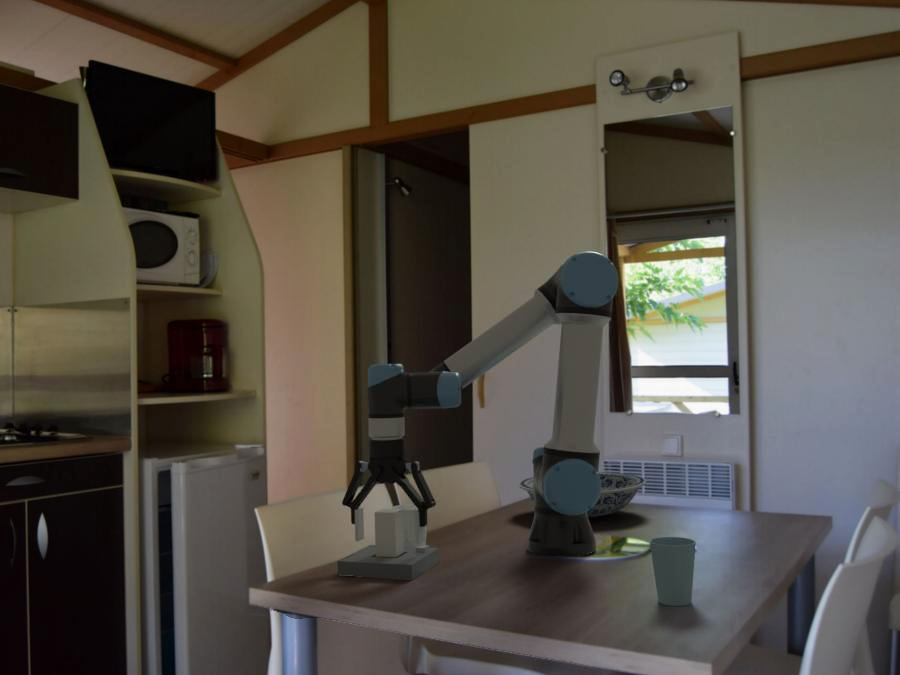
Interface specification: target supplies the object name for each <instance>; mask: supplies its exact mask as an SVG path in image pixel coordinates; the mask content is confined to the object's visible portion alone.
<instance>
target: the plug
mask: <svg viewBox="0 0 900 675" xmlns="http://www.w3.org/2000/svg"><path fill="white" fill-rule="evenodd" d="M374 540H375V541H374V542H375V543H374V545H376V556H379V557H385V558H399V557H400V556H401V554H402V553H404V537H403V509H392V508H381V509H379V510H376V511H375V512H374Z"/></svg>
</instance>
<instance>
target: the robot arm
mask: <svg viewBox="0 0 900 675" xmlns="http://www.w3.org/2000/svg"><path fill="white" fill-rule="evenodd" d="M619 281H620V280H619V274H618V270H617V268H616V266H615V265H614V263H613V262H612V260H611V259H609V258H608V257H607V256H606V255H604V254H602V253H599V252H596V251H583V252H578V253H576V254H573V255H571V256H569V257H568V258H567V259H566V261H565V262H564V263H563V264H561V265H560V267H559V268H557V269H556V271H555V272H554V273H553V275H551V277H549V278H548V279H547V281H545V282H544V283H543V284H542V285H541V286H539V287H538V288H535V290H534V292H533V297H531V298H529V299H528V300H527V301H525V302H524V303H523V304H522V305H520V306H519V307H517V308H516V309H515V310H512V312H511V313H508V314H507V315H506V316H505V317H503V318H502V319H501V320H499V321H498V322H497V323H494V324H493V325H492V326H491V327H489V328H488V329H486V330H485V331H484V332H483V333H481V334H480V335H478V336H477V337H476V338H474V339H473V340H471V341H470V342H468V343H467V344H466V345H464V346H463V347H461V348H460V349H459V350H458V351H456V352H455V353H453V354H452V355H450V356H448V358H446V359H445V360H443V362H441V363H440V364H438V365H437V366H435V367H433V368H432V369H431V370H430V371H427V372H426V371H425V372H405V370H404V366H403V364H401V363H380V364H379V363H377V364H376V363H375V364H372V365H370V366H369V367H368V369H367V388H366V389H367V410H368V411H367V413H368V414H367V415H368V437H370V438H371V439H370V440H369V441H368V456H369V461H368V462H367V461H364V460H358V461H356V462H355V464H354V471H353V476H352V478H351V480H350V482H349V485H348V486H347V489H346V492H345V494H344V497H343V499H342V501H341V504H342V506H344V507H348V508H349V509H350V522H351V525H354V534H355V535H354V540H355V542H361V541H363V540H364V539H365V529H364V528H365V521H364V520H365V519H364V517H365V516H364V507H361V506H362V504H363V503H364V501H365V499H366V498H367V497H368V495H369V494H370V493H371V492H372V490H373V489H374V487H375V486H376V485H377V484H385V483H387V484H391V485H392V484H396V485H397V486H398V487H400V488H401V489H402V490H403V492H404V493H405V494H406V495H407V497H408V498H409V499H410V500H411V501H410V502H412V504H415V506H416V507H417V508H418V510H417V511H415V541H416V544H420V543H422V542H423V541H424V535H423V527H425V526H427V527H428V510H429V509H432V508H434V507H435V506H436V505H437V502H436V500H435V498H434V496H433V493H432V492H431V490H430V486H429V485H428V483H427V481H426V479H425V477H424V474H423V472H422V466H421V462H420V461H418V460H416V461H413V462H407V461H406V440H405V439H404V438H403V437H404V436H405V434H406V432H405V429H406V427H405V426H406V425H405V424H406V423H405V410H406V409H409V410H411V409H444V410H445V409H449V408H450V409H451V408H458V407H459V406H460V405H461V404H462V390H463V389H464V388H466V387H468V385H470V384H471V383H473V382H474V381H476V380H477V379H478V378H480V377H481V376H483V375H484V374H486V373H487V372H488V371H490V370H491V369H493V368H494V367H496V366H497V365H498V364H499V363H501V362H503V361H504V360H505V359H507V358H508V357H509V356H511V355H512V354H514V353H515V352H516V351H518V350H519V349H521V348H522V347H524V346H526V344H528V343H529V342H530V341H532V340H533V339H535V338H536V337H538V336H539V335H540V334H541V333H543V332H544V331H545V330H547V329H549V328H550V327H551V326H553V325H559V326H561V327H560V338H559V340H560V341H559V351H558V353H559V354H558V362H557V364H558V365H557V373H556V374H557V376H556V386H555V387H556V388H555V399H554V411H553V422H552V432H551V434H552V435H551V436H552V437H551V438H550V439H549V440H548V441H547V442H546V443H544V445H543V446H540V447H539V446H538V447H536V448H535V449H534V450H533V452H532V459H531V461H532V464H533V466H532V467H533V477H534V501H533V502H534V504H533V505H534V516H533V520H532V524H531V526H530V527H531V528H530V530H529V535H528V538H527V550H528V552H529V553H532V554H533V555H534V554H535V555H538V556H544V557H557V558H562V557H564V558H567V557H571V558H572V557H579V556H578V555H582V556H584V555H583V554H587V553H590V552H593V553H595V552H596V551H597V540H596V537H595V533H594V531H593V528H592V525H591V522H590V519H589V517H588V516H587V511H589V510H590V509H591V508H592V507H593V506H594V505H595V504H596V503H597V501H598V499H599V497H600V494H601V479H600V475H599V473H598V472H599V469H600V468H599V467H600V457H601V456H600V455H601V450H600V449H599V447H598V446H597V445H596V443H595V441H594V439H595V438H594V437H595V429H596V428H595V427H596V416H597V402H598V390H599V379H600V368H601V367H600V366H601V356H602V355H601V354H602V344H603V329H604V326H605V325H607V324H608V323H609V322H610V321H611V320H612V315H613V312H612V311H613V303H614V302H613V300H614V297H615V296H616V293H617V292H618V288H619ZM407 469H408V471H409V472H408V473H410V474H411V476H412V478H413V481H414V483H415V485H416V487H417V489H418V491H419V492H418V491H417V489H415V487H414V486H413V484H411V482H410V480H409V478H408V477H407V475H406V474H405V472H406V471H407ZM367 470H368V471H369V472H370V474H371V475H370V476H369V478H368V479H367V481H366V483H365V484H364V485H363V487H362V488H361V489H360V490H359V492H358V489H359V487H360V485H361V482H362V480H363V476H365V472H367ZM357 492H358V493H357ZM595 550H596V551H595ZM594 551H595V552H594ZM587 555H588V554H587Z"/></svg>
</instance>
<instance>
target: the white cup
mask: <svg viewBox="0 0 900 675" xmlns="http://www.w3.org/2000/svg"><path fill="white" fill-rule="evenodd" d="M391 509H403V537H404V546H406V547H418V546H420V545H427V529H428V525H427V526H425V527H423V535H424V541H423V542H422V543H420V544H416V541H415V511H417V510H418V508H417V507H416V506H415V504H414V503H411V504H400V505H399V504H397V505H394V506H392V508H391Z"/></svg>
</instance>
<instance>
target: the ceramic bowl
mask: <svg viewBox="0 0 900 675" xmlns="http://www.w3.org/2000/svg"><path fill="white" fill-rule="evenodd" d="M598 473H599V475H600V479H601V494H600V497H599V499H598V501H597V503H596V504H595V505H594V506H593V507H592V508H591V509H590V510H589V511H587V516H588V518H596V517H604V516H608V515H610V514H611V515H612V514H614V513H617V512H619V511H620V510H622V509H624V508H625V507H626V506H628V505H629V503H631V501H632V500H633V499H634V497H635V496H636V494H637V493H638V489H639V488H642V487H643V486H645V485H646V484H647V481H646V478H644V477H643V476H642V477H641V476H639V475H634V474H630V473H629V474H628V473H623V472H621V473H620V472H605V471H600V472H599V471H598ZM518 486H519V489H521V490H523V491H526V492H527V494H528V495H529V496H528V497H530V499H531V500H532V501H533V502H534V476H532V477H529V478H525V479H524V480H523V479H522V480H521V481H520V482H519V483H518Z"/></svg>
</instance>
